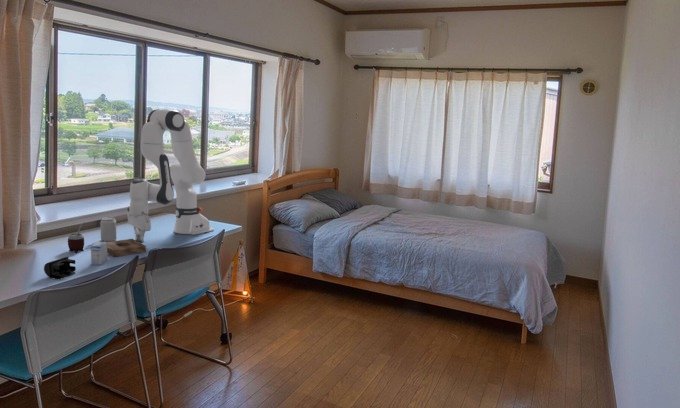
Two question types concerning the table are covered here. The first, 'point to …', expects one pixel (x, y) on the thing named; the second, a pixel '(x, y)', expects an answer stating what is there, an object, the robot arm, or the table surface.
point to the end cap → (60, 268)
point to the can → (108, 229)
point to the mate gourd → (76, 241)
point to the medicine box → (98, 253)
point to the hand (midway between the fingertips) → (139, 236)
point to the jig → (125, 247)
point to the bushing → (138, 235)
